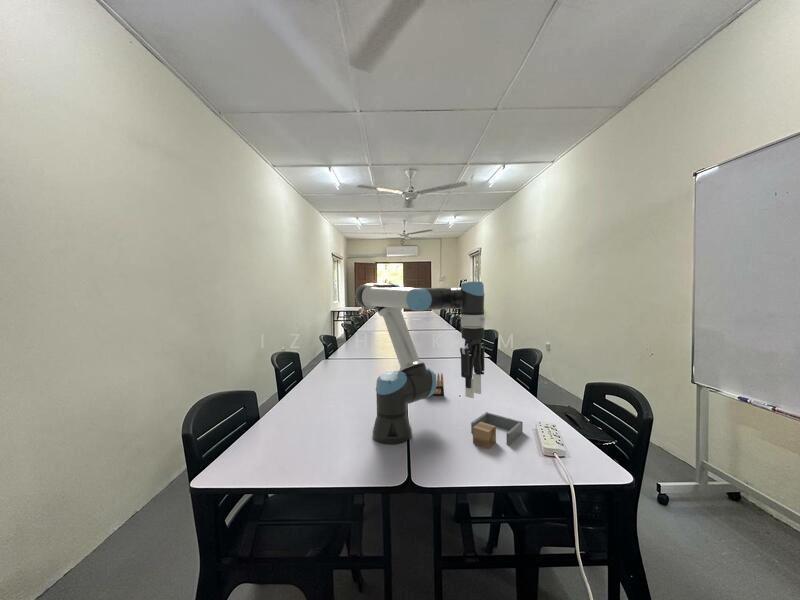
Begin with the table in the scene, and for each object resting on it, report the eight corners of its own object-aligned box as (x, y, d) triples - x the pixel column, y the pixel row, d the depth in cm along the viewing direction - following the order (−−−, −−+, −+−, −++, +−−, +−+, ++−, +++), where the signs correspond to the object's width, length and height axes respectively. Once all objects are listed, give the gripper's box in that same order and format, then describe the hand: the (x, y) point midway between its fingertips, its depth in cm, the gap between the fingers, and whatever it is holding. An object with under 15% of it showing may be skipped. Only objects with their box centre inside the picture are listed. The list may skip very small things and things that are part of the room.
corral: (509, 445, 108) (509, 434, 108) (471, 432, 118) (471, 422, 118) (522, 432, 118) (522, 421, 118) (486, 421, 128) (486, 412, 128)
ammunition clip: (423, 396, 160) (423, 373, 159) (423, 395, 161) (423, 372, 161) (444, 396, 160) (443, 373, 159) (443, 394, 161) (443, 372, 161)
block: (488, 449, 106) (488, 432, 106) (473, 443, 110) (472, 427, 110) (496, 442, 111) (495, 426, 110) (480, 437, 115) (480, 421, 114)
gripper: (470, 330, 94) (470, 405, 95) (494, 325, 107) (495, 390, 108) (449, 328, 99) (450, 399, 100) (475, 323, 112) (475, 386, 113)
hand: (473, 394), depth 104 cm, fingers open, 4 cm apart
